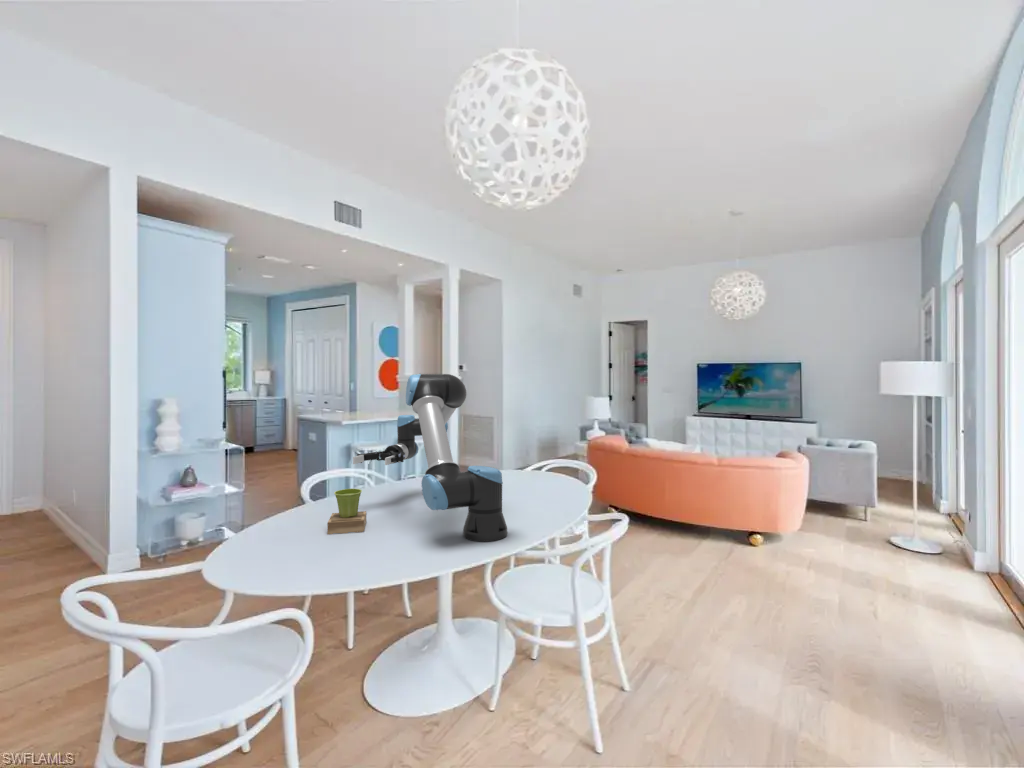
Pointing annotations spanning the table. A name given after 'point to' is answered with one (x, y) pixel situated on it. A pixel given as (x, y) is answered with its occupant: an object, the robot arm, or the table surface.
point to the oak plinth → (347, 523)
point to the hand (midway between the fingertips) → (369, 461)
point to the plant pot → (348, 502)
